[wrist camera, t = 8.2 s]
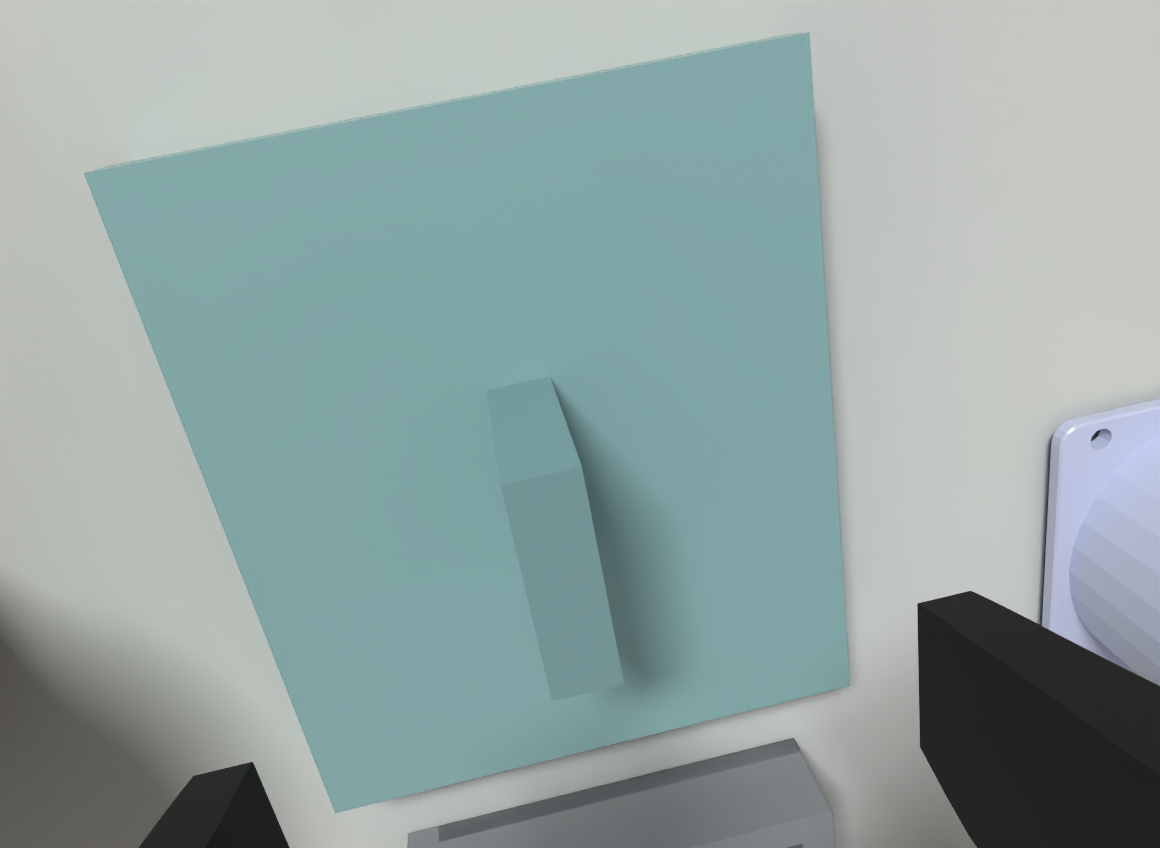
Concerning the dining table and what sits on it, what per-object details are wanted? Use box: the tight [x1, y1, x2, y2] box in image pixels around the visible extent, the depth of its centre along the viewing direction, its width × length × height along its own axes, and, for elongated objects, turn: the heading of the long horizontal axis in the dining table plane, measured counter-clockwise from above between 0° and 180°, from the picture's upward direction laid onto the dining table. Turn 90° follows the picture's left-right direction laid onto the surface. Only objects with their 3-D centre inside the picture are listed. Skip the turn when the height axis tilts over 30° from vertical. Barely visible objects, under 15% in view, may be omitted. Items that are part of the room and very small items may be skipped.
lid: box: [84, 33, 850, 813], centre depth 16 cm, size 12×14×6 cm
